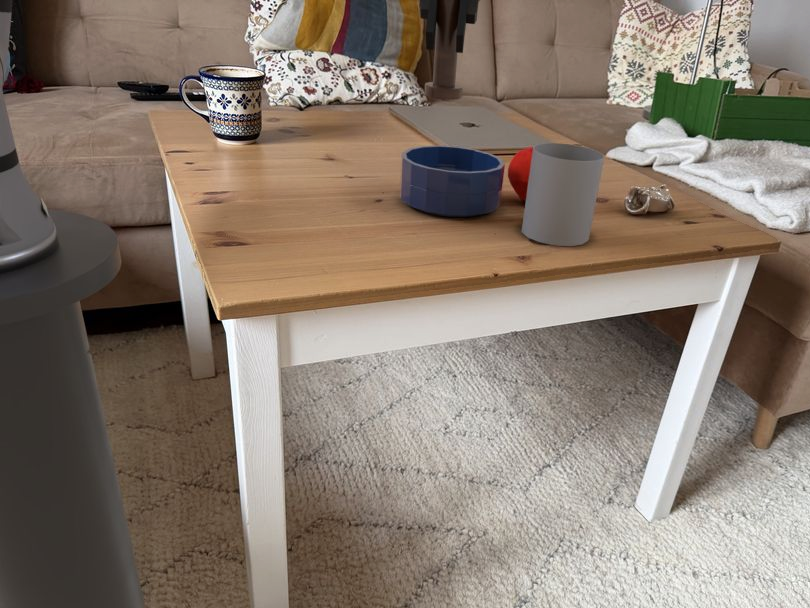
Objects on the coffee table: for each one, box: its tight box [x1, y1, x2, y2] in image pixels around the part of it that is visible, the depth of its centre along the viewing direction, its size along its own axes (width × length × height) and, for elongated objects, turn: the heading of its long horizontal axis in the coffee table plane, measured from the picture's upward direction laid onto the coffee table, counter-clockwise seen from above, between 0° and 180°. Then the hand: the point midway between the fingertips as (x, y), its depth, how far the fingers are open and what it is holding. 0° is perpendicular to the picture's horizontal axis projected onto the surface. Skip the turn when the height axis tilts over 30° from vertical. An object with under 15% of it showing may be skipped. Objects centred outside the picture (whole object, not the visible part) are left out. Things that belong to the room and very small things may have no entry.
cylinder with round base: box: [423, 0, 463, 101], centre depth 75 cm, size 4×4×16 cm
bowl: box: [399, 145, 506, 218], centre depth 88 cm, size 13×13×6 cm
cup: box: [521, 142, 605, 247], centre depth 80 cm, size 8×8×10 cm
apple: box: [507, 146, 533, 203], centre depth 92 cm, size 8×8×7 cm
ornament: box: [623, 183, 676, 216], centre depth 94 cm, size 8×7×4 cm
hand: (444, 42), depth 72 cm, fingers closed on cylinder with round base, 3 cm apart
